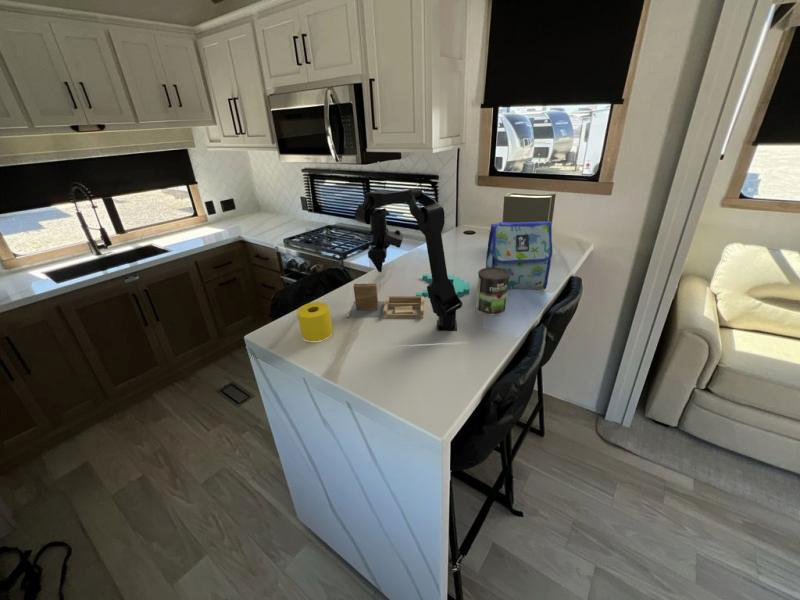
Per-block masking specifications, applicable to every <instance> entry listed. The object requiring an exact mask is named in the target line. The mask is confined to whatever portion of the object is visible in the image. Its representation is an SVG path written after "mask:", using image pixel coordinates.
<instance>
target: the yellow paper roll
mask: <svg viewBox="0 0 800 600" xmlns="http://www.w3.org/2000/svg"><path fill="white" fill-rule="evenodd" d="M330 312H331V311H330V306H329V305H328V304H327V303H324V302H320V301H313V302H308V303H306V304H304V305H301V306H300V307H299V308H298V309H297V311H296V313H297V317H298V324H299V327H300V332H301V337H303V338H304V339H305V340H308V341H319V340H323V339H325V338H327V337H329V336H330V335H331V334H332V332H333V333H334V331H333V326H332V324H333V323H332V319H331V313H330ZM332 335H333V334H332ZM303 338H302V339H303ZM304 339H303V340H304ZM305 340H304V341H305Z"/></svg>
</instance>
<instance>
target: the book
mask: <svg viewBox="0 0 800 600" xmlns="http://www.w3.org/2000/svg"><path fill="white" fill-rule="evenodd" d="M556 196H557V195H556V192H555V193H554V192H553V193H530V192H528V193H527V192H507V193H506V194H505V195H504V196H503V207H502V208H503V209H502V222H505V223H520V222H551V226H552V225H553V219H554V212H555V211H554V210H555V204H556V203H555V202H556Z"/></svg>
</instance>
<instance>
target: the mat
mask: <svg viewBox="0 0 800 600" xmlns="http://www.w3.org/2000/svg"><path fill="white" fill-rule="evenodd" d="M385 302H386V300H385V301H379V300H378V310H356V303H355V301H353V304H352V305H351V307H350V308H351V309H350V311H349V312H348V313H349V314H347V315H348V316H347V319H349V318H352V319H353V318H356V319H357V318H359V319H360V318H361V319H362V318H363V319H364V318H370V319H372V318H373V319H374V318H375V319H376V318H378V319H380V318H382V316H383V310H384V306H385Z"/></svg>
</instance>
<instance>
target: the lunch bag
mask: <svg viewBox="0 0 800 600" xmlns="http://www.w3.org/2000/svg"><path fill="white" fill-rule="evenodd" d="M552 229H553V227H552V226H551V222H520V223H505V222H503V221H502V222H501V221H500V222H498V223H492V224H491V225H490V231H489V235H488V242H487V251H486V259H485V260H486V261H485V268H501V269H504V270H506V271H508V272H509V279H508V288H507V291H515V290H516V291H523V290H530V291H532V290H533V291H535V290H537V291H538V290H546V288H547V286H548V280H549V275H550V269H551V259H552V256H553V240H552V233H553V232H552Z"/></svg>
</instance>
